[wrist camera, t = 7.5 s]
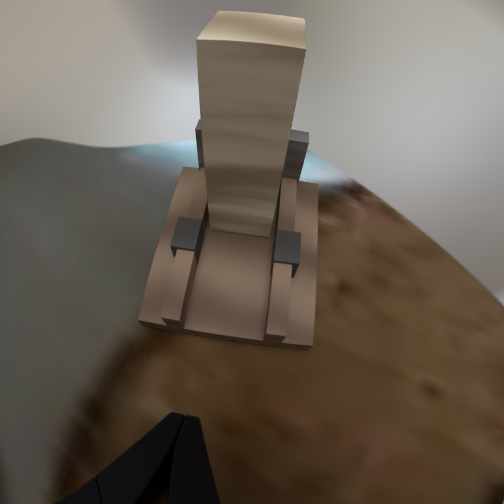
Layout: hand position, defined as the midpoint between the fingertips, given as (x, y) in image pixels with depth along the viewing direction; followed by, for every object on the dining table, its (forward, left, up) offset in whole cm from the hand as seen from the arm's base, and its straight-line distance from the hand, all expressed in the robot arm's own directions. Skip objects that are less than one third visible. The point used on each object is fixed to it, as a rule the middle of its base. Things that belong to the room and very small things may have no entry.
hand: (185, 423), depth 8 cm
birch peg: (+13, +9, -11) cm, 19 cm away
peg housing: (+10, +7, -12) cm, 18 cm away
